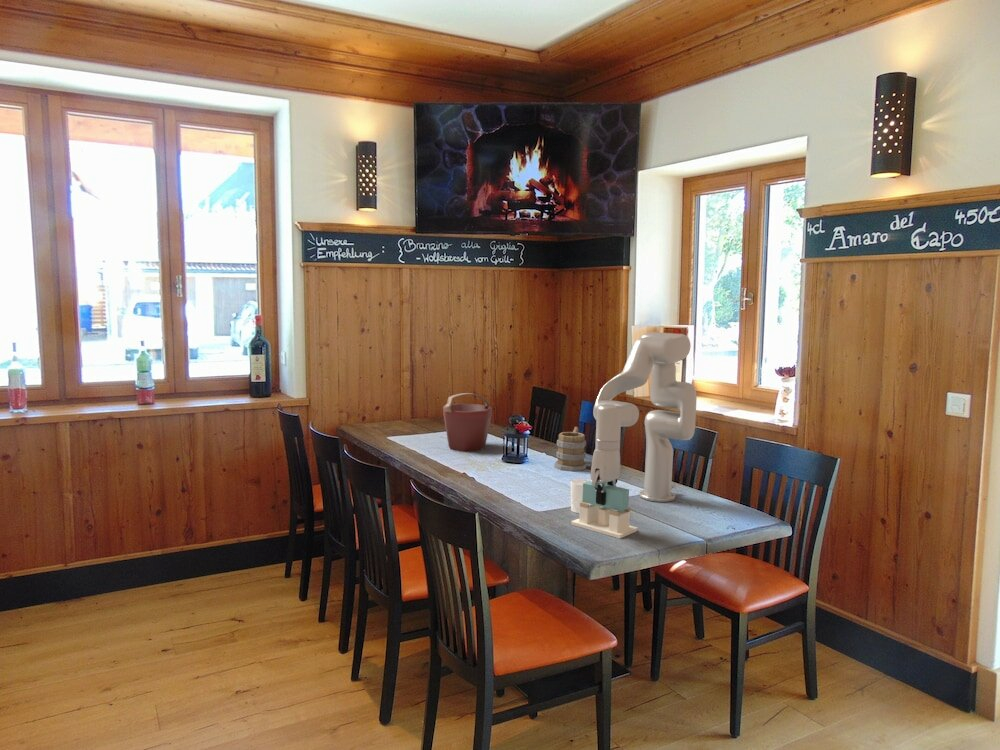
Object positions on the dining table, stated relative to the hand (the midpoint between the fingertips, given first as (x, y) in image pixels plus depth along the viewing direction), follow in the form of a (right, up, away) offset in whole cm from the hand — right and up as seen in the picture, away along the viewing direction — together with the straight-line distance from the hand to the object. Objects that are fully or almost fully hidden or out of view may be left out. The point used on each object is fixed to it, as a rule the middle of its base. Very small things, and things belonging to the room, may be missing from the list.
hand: (605, 501), depth 225 cm
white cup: (-5, -6, +18) cm, 19 cm away
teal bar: (0, -1, 0) cm, 1 cm away
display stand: (0, -8, +1) cm, 8 cm away
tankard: (-2, +1, +80) cm, 80 cm away
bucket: (-49, +6, +108) cm, 119 cm away
